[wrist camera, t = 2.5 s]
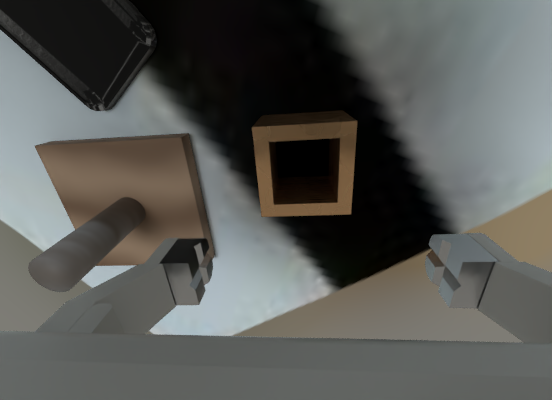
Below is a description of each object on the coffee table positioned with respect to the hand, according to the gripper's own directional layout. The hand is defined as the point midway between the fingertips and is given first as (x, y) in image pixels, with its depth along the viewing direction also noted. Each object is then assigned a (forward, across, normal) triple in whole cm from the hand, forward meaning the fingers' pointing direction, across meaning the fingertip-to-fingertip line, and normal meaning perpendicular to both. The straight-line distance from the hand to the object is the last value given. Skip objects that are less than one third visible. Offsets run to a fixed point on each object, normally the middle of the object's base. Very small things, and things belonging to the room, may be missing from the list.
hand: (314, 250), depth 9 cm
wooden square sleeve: (+12, 0, -1) cm, 12 cm away
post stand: (+12, +15, +3) cm, 20 cm away
